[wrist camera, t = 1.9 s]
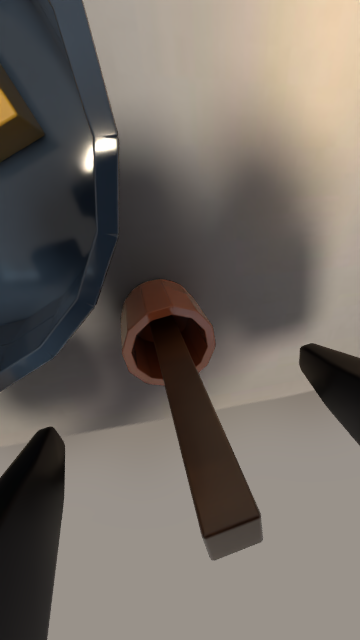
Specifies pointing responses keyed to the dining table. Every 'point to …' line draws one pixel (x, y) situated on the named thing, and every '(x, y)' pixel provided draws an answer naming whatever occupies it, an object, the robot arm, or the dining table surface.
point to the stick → (205, 451)
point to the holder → (154, 304)
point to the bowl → (54, 184)
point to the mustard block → (15, 120)
